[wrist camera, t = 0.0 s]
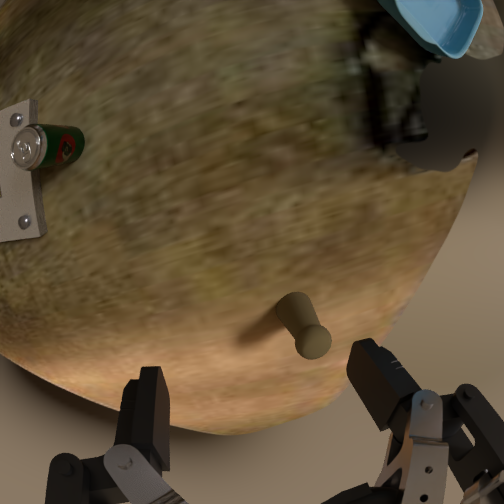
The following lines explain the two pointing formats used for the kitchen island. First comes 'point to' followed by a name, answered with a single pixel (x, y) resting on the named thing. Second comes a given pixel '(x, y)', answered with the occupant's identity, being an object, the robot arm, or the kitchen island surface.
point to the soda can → (46, 146)
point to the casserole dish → (438, 23)
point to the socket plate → (19, 180)
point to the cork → (304, 325)
